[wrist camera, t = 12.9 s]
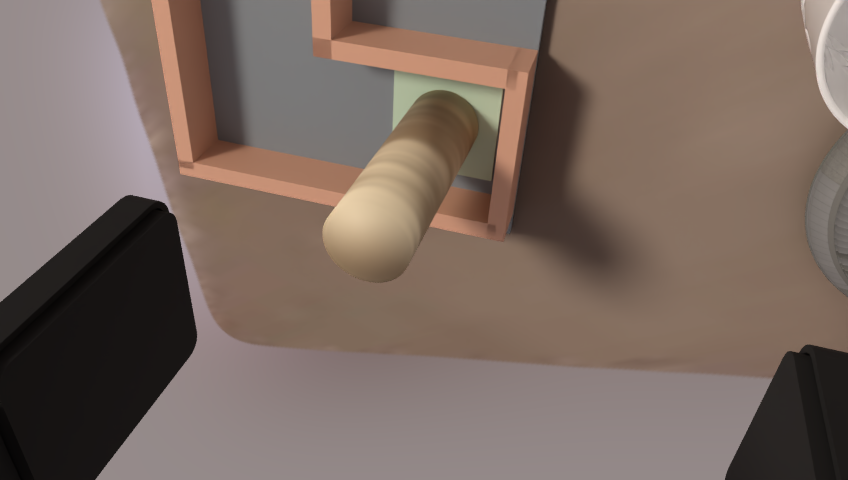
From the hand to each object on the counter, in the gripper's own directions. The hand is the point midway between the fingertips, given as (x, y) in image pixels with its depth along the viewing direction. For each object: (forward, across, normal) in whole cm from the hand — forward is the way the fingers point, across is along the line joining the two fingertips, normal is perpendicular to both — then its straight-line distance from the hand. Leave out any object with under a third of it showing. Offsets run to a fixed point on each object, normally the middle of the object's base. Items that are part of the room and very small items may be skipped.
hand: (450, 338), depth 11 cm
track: (+28, +12, +6) cm, 31 cm away
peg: (+28, +6, +11) cm, 30 cm away
